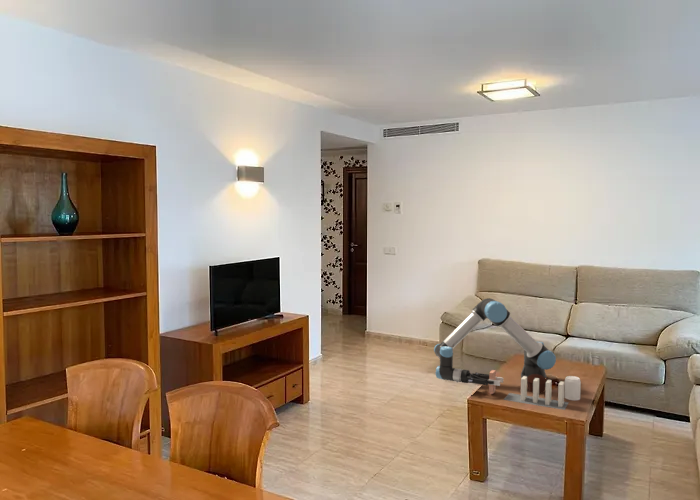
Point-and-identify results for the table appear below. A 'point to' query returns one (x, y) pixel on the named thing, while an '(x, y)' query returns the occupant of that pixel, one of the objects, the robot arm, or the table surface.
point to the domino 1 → (493, 377)
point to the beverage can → (572, 388)
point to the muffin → (541, 382)
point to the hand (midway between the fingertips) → (501, 381)
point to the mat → (530, 401)
